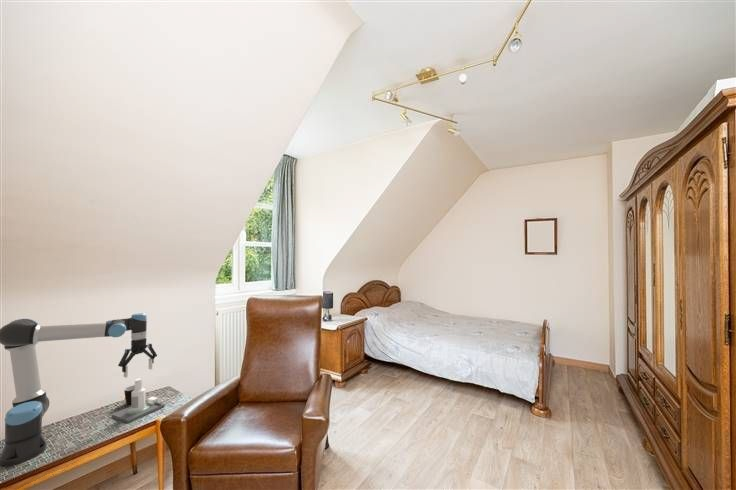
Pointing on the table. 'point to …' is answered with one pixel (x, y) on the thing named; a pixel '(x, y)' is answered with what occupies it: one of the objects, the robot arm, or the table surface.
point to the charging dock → (130, 416)
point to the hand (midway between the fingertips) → (138, 373)
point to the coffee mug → (128, 394)
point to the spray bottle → (138, 396)
